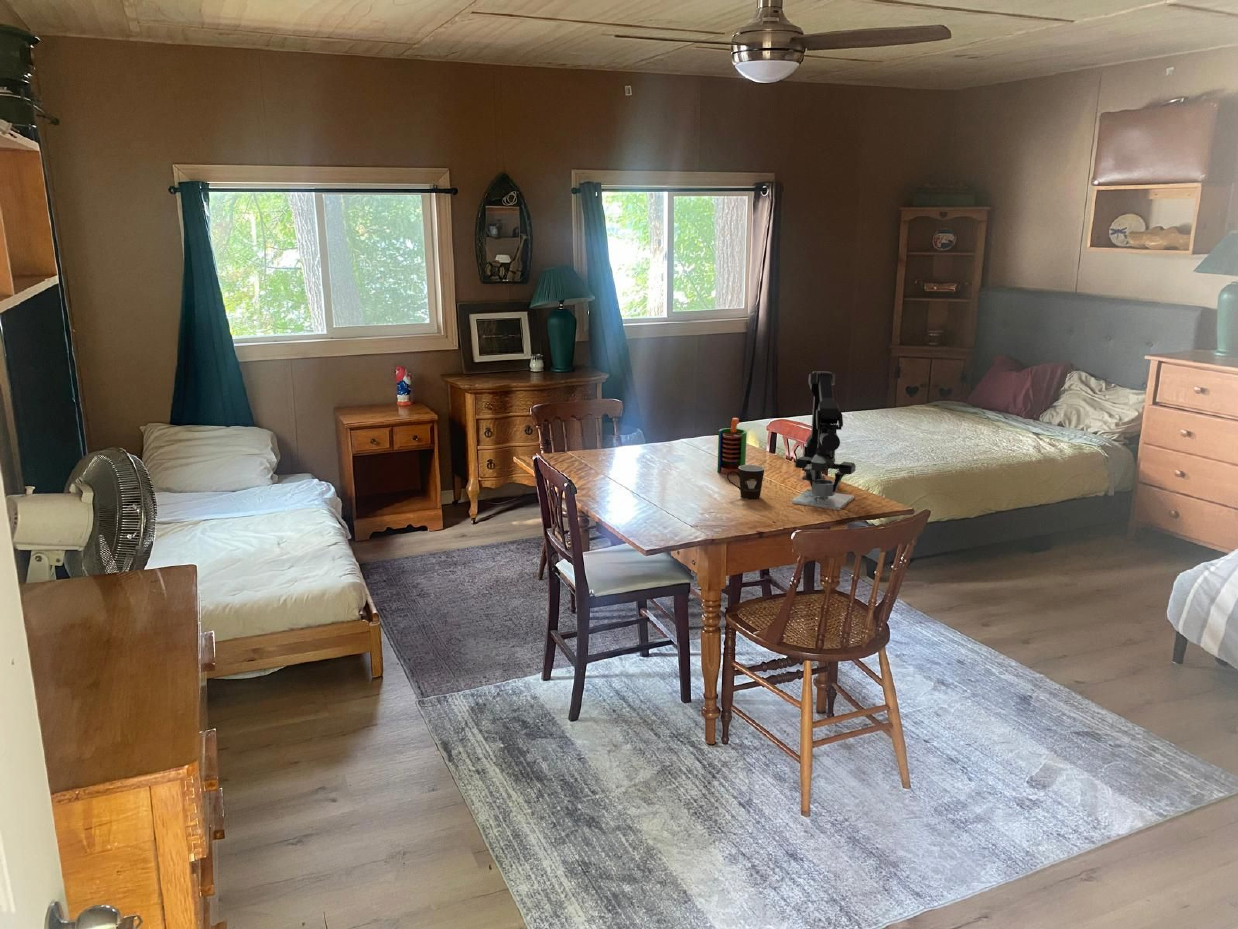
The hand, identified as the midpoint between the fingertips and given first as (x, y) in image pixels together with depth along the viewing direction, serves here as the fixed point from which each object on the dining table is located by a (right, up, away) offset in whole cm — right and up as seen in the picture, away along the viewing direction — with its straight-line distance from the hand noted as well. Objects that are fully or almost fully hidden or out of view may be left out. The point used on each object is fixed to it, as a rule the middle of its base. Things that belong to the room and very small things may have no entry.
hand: (823, 490), depth 311 cm
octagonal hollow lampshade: (0, -1, 0) cm, 1 cm away
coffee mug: (-25, -2, +5) cm, 26 cm away
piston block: (0, -3, +1) cm, 4 cm away
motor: (-26, +6, +37) cm, 46 cm away
